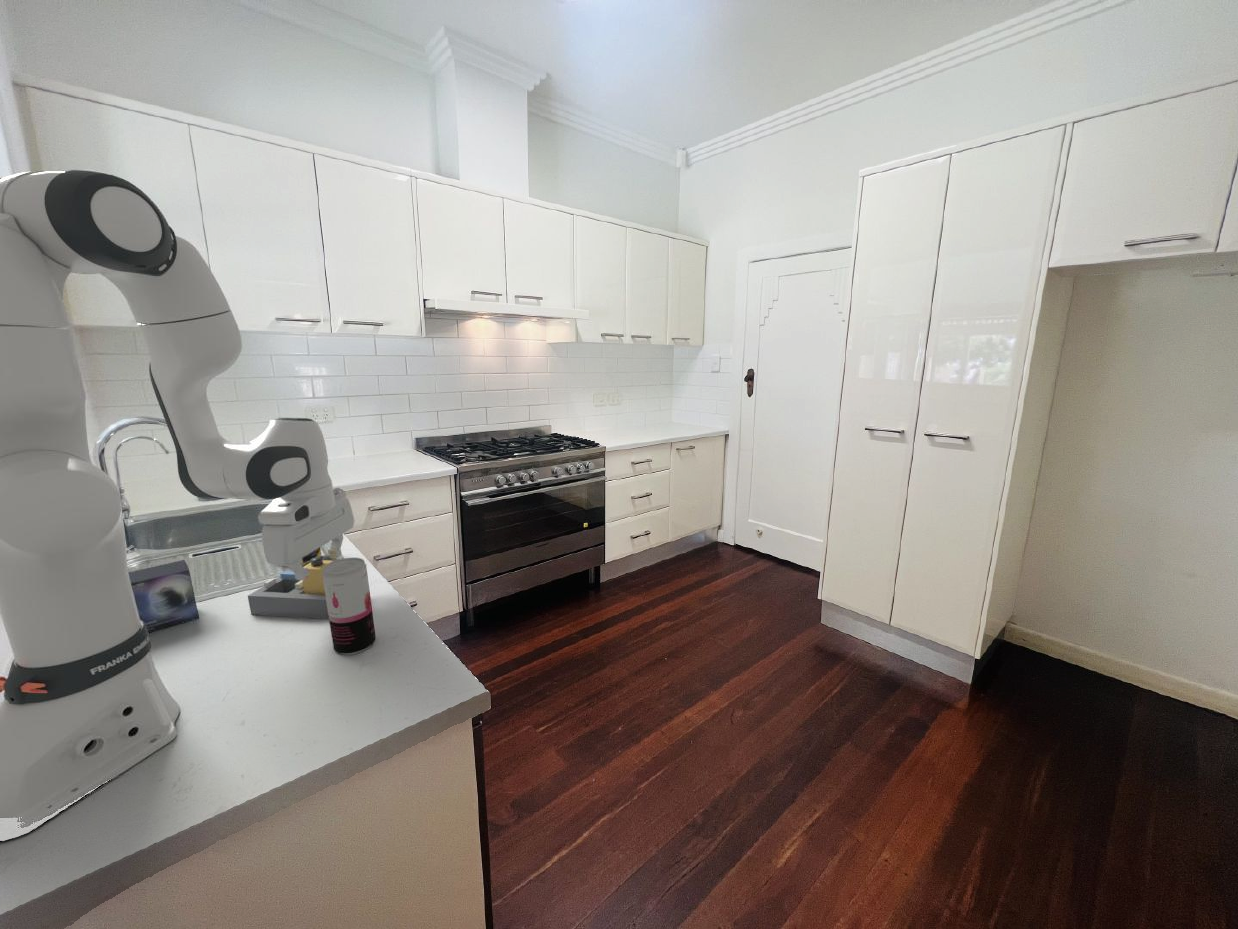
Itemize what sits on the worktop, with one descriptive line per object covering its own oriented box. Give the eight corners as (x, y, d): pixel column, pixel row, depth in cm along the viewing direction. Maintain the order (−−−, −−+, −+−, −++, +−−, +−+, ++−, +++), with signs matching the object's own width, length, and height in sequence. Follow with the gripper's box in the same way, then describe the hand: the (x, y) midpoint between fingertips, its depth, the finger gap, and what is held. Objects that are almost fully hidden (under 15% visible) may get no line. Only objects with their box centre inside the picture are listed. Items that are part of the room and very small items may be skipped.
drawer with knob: (326, 611, 98) (318, 563, 96) (307, 610, 99) (299, 562, 96) (339, 601, 102) (332, 555, 100) (321, 600, 102) (314, 554, 100)
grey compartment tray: (328, 618, 95) (325, 595, 94) (251, 614, 97) (246, 591, 96) (357, 596, 104) (354, 573, 103) (286, 592, 106) (282, 570, 105)
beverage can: (384, 638, 89) (374, 560, 85) (353, 659, 83) (340, 576, 79) (357, 631, 91) (346, 554, 88) (325, 651, 85) (312, 570, 82)
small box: (124, 642, 88) (109, 587, 86) (122, 628, 93) (108, 576, 90) (200, 618, 96) (189, 568, 93) (195, 607, 100) (184, 558, 98)
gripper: (329, 484, 106) (339, 545, 109) (249, 518, 86) (265, 591, 89) (356, 485, 105) (366, 546, 108) (283, 519, 85) (297, 592, 89)
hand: (319, 567), depth 99 cm, fingers open, 8 cm apart
